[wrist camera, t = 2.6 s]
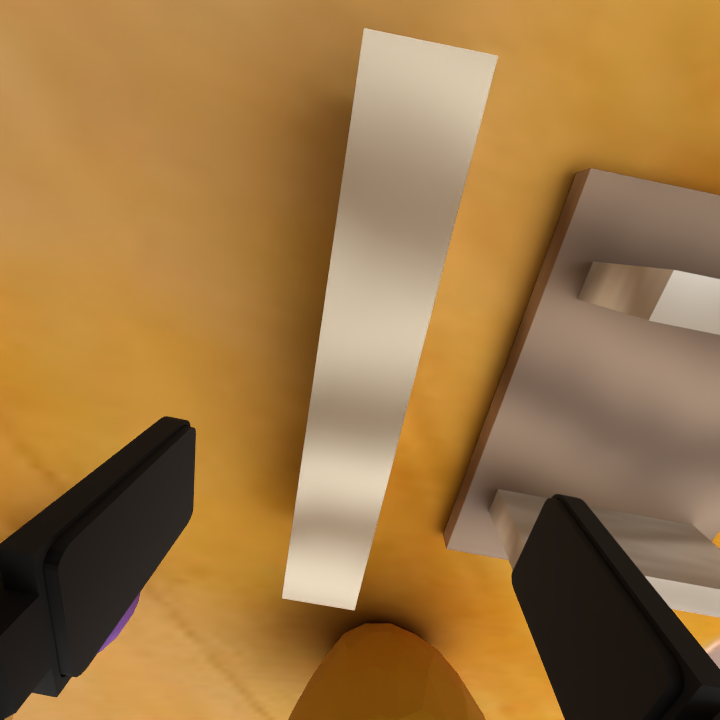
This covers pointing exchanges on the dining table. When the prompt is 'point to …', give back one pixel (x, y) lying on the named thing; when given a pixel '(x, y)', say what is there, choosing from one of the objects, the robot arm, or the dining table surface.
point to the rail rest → (613, 389)
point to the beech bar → (380, 294)
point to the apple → (385, 680)
